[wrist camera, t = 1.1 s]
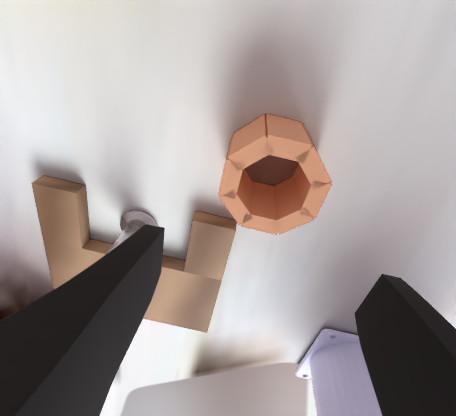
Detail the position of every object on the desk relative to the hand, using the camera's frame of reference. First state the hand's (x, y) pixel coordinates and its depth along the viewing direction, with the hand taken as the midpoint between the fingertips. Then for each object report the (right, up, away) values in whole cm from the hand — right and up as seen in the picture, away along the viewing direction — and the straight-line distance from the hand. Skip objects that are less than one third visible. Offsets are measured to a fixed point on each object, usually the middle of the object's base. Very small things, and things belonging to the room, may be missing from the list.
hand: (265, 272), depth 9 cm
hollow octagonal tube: (+1, +5, +8) cm, 9 cm away
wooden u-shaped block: (-9, -2, +13) cm, 16 cm away
